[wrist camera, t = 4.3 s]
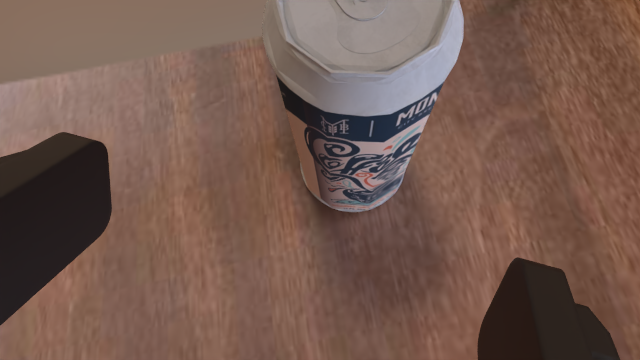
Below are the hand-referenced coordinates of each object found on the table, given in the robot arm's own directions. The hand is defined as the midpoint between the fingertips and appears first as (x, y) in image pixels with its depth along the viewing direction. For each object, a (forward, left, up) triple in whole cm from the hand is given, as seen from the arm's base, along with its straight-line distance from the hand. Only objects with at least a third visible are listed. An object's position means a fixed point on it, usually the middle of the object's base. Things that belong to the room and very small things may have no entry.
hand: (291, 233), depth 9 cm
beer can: (+1, +5, -12) cm, 13 cm away
